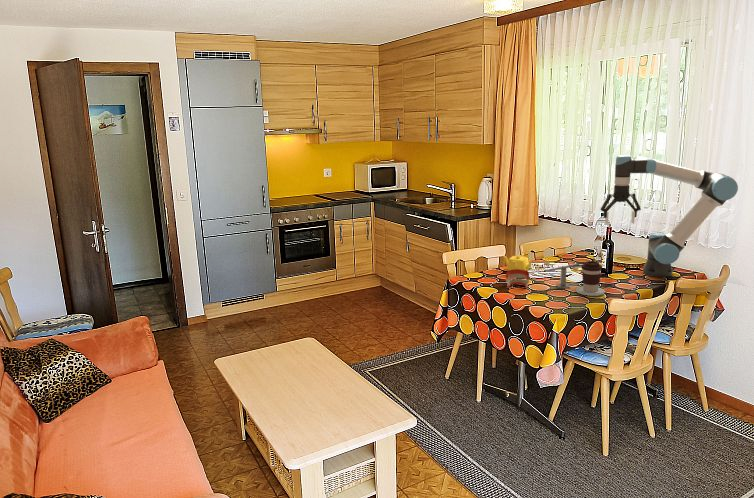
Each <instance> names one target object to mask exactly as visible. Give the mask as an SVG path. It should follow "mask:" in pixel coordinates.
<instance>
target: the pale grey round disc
mask: <svg viewBox="0 0 754 498" xmlns="http://www.w3.org/2000/svg"><path fill="white" fill-rule="evenodd" d="M575 292H576V293H578V294H580V295H583V296H586V295H587V296H589V297H597V296H602V295H604V294H605V293H606V291H605V290H604V288H601V287H598V291H597V292H586V291H584V290H583V286H578V287H577V288H576V289H575Z"/></svg>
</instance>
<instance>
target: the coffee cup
mask: <svg viewBox="0 0 754 498" xmlns="http://www.w3.org/2000/svg"><path fill="white" fill-rule="evenodd" d="M581 267H582V269H583V271H581V272H582V276H581V277H582V285H583V290H584V291H586V292H597V291H598V288H600V287H599V285H600V282H601V275H602V272H601V271H602V270H603V265H601V264H600V263H599V262H598V261H593V260H588V261H585V262H584V263H583V264H581Z"/></svg>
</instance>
